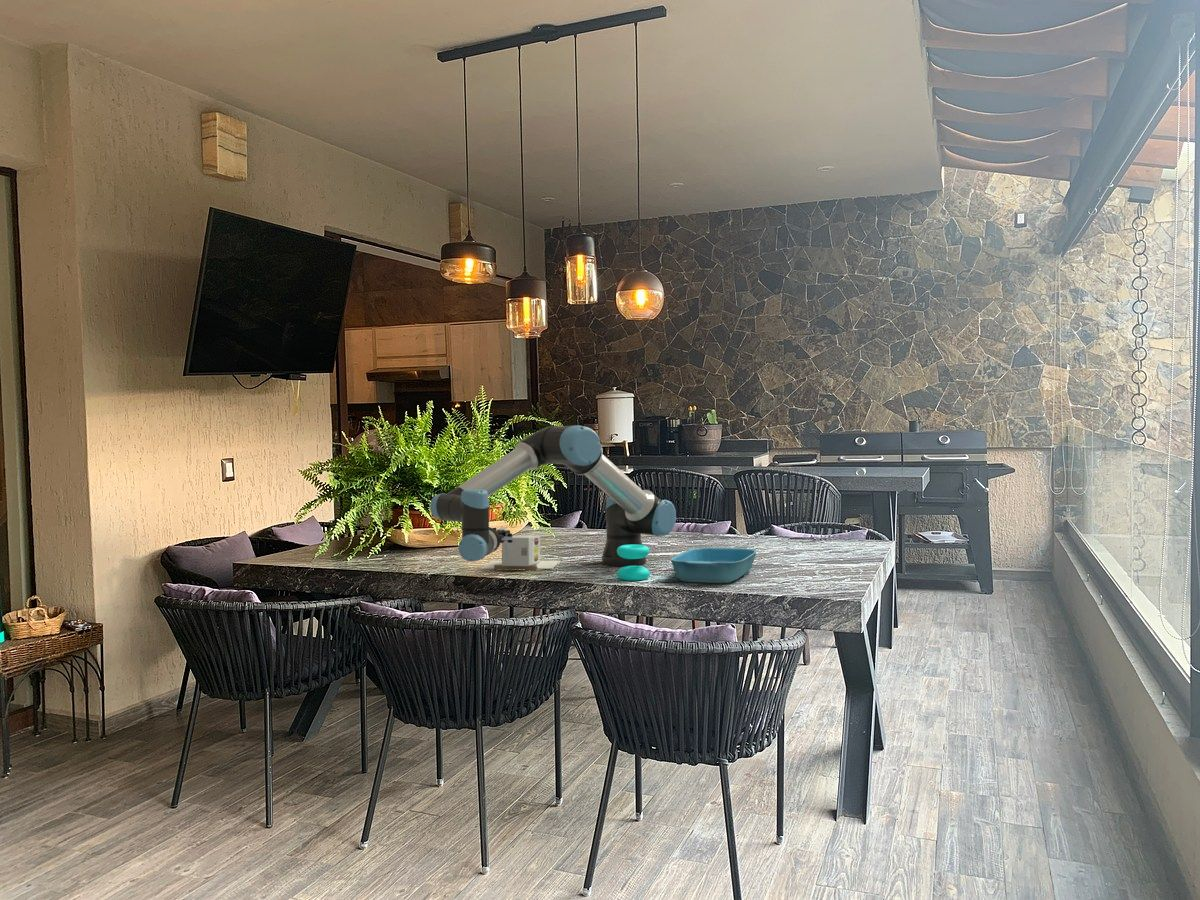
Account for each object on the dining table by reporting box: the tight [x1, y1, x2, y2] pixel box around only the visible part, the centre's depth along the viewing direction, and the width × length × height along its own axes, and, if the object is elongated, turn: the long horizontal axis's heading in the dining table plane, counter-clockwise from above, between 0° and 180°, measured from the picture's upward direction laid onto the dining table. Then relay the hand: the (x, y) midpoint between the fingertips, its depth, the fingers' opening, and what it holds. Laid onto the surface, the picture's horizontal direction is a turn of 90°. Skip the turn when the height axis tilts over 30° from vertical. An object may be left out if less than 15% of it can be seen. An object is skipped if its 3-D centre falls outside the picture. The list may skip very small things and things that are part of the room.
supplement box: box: [501, 535, 541, 566], centre depth 312 cm, size 10×9×17 cm
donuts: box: [616, 544, 651, 582], centre depth 287 cm, size 10×10×10 cm
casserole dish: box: [670, 546, 757, 584], centre depth 290 cm, size 37×22×7 cm, turn 159°
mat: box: [480, 560, 561, 571], centre depth 315 cm, size 24×17×2 cm
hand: (504, 531), depth 293 cm, fingers closed
